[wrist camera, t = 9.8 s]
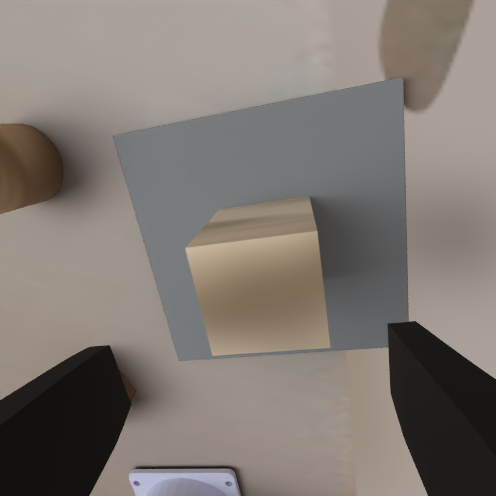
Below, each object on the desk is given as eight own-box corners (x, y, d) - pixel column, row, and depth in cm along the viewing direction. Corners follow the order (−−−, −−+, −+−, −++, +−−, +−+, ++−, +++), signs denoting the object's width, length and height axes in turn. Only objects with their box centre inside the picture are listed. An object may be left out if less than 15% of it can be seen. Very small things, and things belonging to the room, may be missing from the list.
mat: (405, 338, 18) (409, 345, 18) (182, 354, 20) (178, 361, 20) (398, 78, 14) (402, 76, 13) (118, 135, 16) (112, 135, 16)
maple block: (319, 280, 17) (330, 347, 12) (235, 289, 18) (212, 355, 13) (309, 196, 15) (317, 231, 10) (218, 209, 16) (185, 248, 11)
